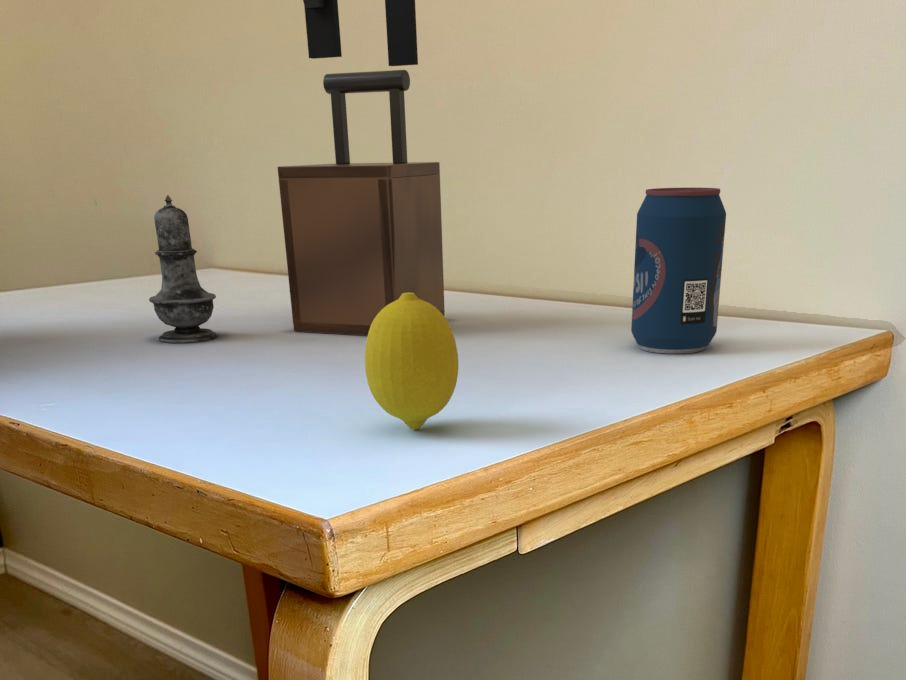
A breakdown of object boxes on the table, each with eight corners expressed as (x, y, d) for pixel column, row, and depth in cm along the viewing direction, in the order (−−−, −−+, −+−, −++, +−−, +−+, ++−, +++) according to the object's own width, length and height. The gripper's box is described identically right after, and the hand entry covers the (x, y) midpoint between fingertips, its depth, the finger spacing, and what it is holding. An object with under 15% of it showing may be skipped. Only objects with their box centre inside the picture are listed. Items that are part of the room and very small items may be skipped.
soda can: (617, 342, 86) (624, 188, 80) (692, 337, 87) (703, 186, 82) (651, 357, 80) (660, 192, 74) (730, 351, 81) (745, 189, 76)
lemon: (477, 424, 62) (474, 288, 59) (424, 446, 58) (417, 301, 55) (406, 414, 65) (399, 283, 61) (351, 434, 61) (339, 295, 57)
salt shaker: (179, 331, 96) (159, 193, 90) (233, 333, 94) (215, 193, 89) (141, 342, 91) (117, 197, 86) (197, 344, 89) (176, 196, 84)
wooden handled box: (293, 331, 95) (348, 315, 103) (396, 337, 90) (445, 320, 99) (267, 71, 85) (330, 76, 93) (381, 64, 81) (436, 70, 89)
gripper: (297, -318, 67) (327, 50, 77) (457, -216, 87) (465, 66, 97) (206, -297, 70) (246, 56, 80) (382, -203, 90) (396, 70, 100)
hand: (366, 62), depth 88 cm, fingers open, 13 cm apart
